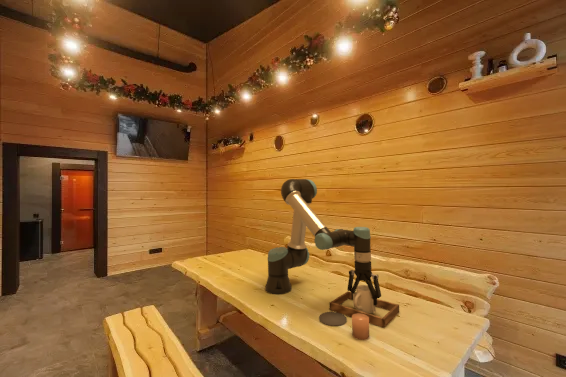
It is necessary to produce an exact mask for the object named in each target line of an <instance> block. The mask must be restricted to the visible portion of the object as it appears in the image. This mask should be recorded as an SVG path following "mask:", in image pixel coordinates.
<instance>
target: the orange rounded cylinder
mask: <svg viewBox="0 0 566 377" xmlns="http://www.w3.org/2000/svg"><path fill="white" fill-rule="evenodd" d="M351 325H352V326H351V327H352V328H351V330H352V331H351V332H352V333H351V334H352V337H353V338H355V340H360V341H365V340H368V339H370V323H369V317H368V316H367V315H365V314H360V313H357V314H353V315H352V317H351Z"/></svg>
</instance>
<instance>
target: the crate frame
mask: <svg viewBox="0 0 566 377" xmlns="http://www.w3.org/2000/svg"><path fill="white" fill-rule="evenodd" d="M348 300H351V301H353V300H352V297H351V292H350V291H346V292H344V293H343V294H341V295H340V296H338V297H336V298H334V299H333V300H331V301H329V311H330V312H337V313H341V314H343V315H344V316H346V317H349V318H352V315H353V314H357V313H360V314H365V315H367V316H368V317H369V324H371V325H374V326H376V327H380V328H384V329H385V328H386V327H387V326H388V325H389V324H390V323H391V322H392V321H393V320H394V319H395V317H396V316H398V315H399V313H400V304H397V303H394V302H390V301H386V300H382V299H380V298H377V305H376V308H379V309H383V310H386V311H388V312H387V313H386V314H385V315H384V316H383V317H382V316H378V315H374V314H373V313H365V312H362V311H359V310H358V309H356V308H353V307H349V306H345V305H343V303H345V302H346V301H348Z"/></svg>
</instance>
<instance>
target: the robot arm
mask: <svg viewBox="0 0 566 377" xmlns="http://www.w3.org/2000/svg"><path fill="white" fill-rule="evenodd" d="M317 193H318V187H317V184H315V182H314V181H313V180H312V179H307V178H289V179H287V180H285V181H284V182H283V184H282V185H281V187H280V194H281V195H280V196H281V198H282V199H283V201H284V202H285V204H286V205H288V206H290V207H291V209H292V210H293V214H292V224H291V233H290V240H289V242H288V243H287V246H286V247H285V246H280V247H274V248H271V249H270V250H269V251H268V253H267V273H268V274H267V279H266V283H265V289H264V290H265V291H266V293H268V292H269V293H268V294H271V293H272V294H273V295H282V294H283V295H284V294H287V293H290V292H291V291H292V283H291V281H290V278H289V269H290V270H291V269H295V268H299V267H302V266H305V265H306V264H308V262H309V260H310V251H309V249H308V248H307V245H306V243H305V241H306V240H305V238H306V234H307V233H306V232H307V229H308V230H309V232H310V233H311V234H312V235H313V237H314V241H313V242H314V244H315V247H316V249H319V250H322V251H323V250H326V251H327V250H331V249H333V248H339V247H343V246H349V247H353V254H354V269H350V270H349V271H348V274H349V276H348V282H347V283H348V284H347V292H351V297H352V300H351V301H352V303H353V306H352V308H353V309H356V307H355V305H354V300H355V296H356V295H357V292H356V287H357V286H359V285H360V282H362V281H363V282H365V285H368V287H369V290H370V292H371V295H372V298H371V309H372V313H371V314H374V313H376V308H377V307H376V305H377V299H380V298H381V297H382V291H381V287H380V282H379V274H374V273H373V272H372V253H371V252H372V250H371V247H372V246H371V240H372V238H371V237H372V236H371V230H370V228H369V227H366V226H356V227H353V230H350V229H344V228H337V229H334V231H332V230H330V229H329V228H328V226H326V224H325V222H323V220H321V218H320V217H319V216H318V215H317V214H316V213H315V211H314V210H313V209H312V208H311V207H310V205H311V204H312V202H313V199H315V197H316V196H317ZM354 276H356V277H354ZM354 278H355V280H354ZM372 280H373V281H372ZM374 288H375V289H374Z"/></svg>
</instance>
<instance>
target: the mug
mask: <svg viewBox="0 0 566 377" xmlns="http://www.w3.org/2000/svg"><path fill="white" fill-rule="evenodd" d="M374 289H375V287H374ZM355 292H357V295H356V296H355V300H354V305H355V309H356V310H359V311H362V312H365V313H369V314H373V313H372V309H371V298H372V295H371V292H370V290H369V287H368V285H367V284H358V286H357V287H356V291H355Z"/></svg>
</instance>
